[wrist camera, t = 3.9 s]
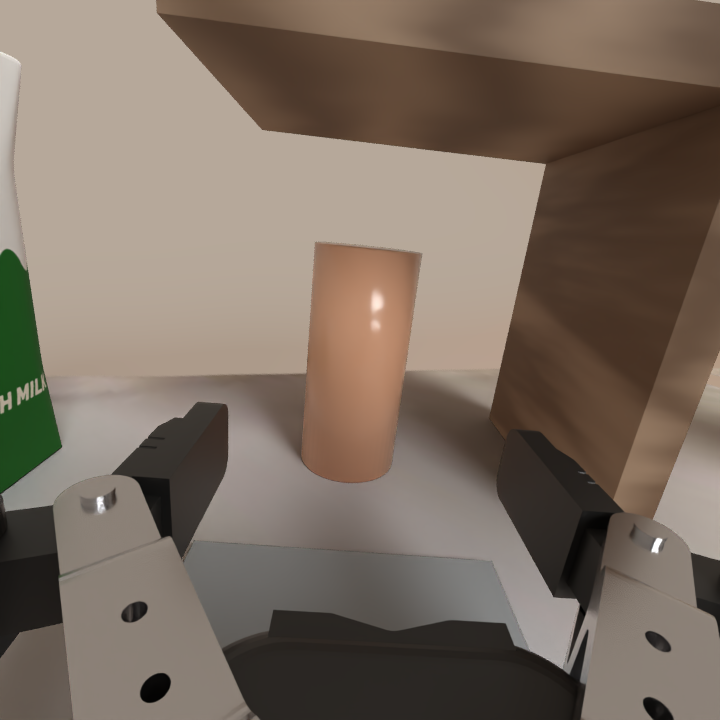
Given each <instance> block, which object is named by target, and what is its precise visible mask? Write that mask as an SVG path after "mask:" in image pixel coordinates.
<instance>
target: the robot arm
mask: <svg viewBox="0 0 720 720" xmlns="http://www.w3.org/2000/svg"><path fill="white" fill-rule="evenodd" d="M227 461H228V408H227V405H226V404H218V403H206V402H197V403H196V404H195V405H194V406H193V407H192V409H191V410H190V411H189V412H188V413H187V414H186V415H185V416H184V418H173V419H171V420H169V421H168V422H166V423H164V424H162V425H160V426H158V427H157V428H156V429H155V430H154V431H153V432H152V433H151V434H150V435H149V436H148V439H145V440H144V441H143V442H142V443H141V445H140V446H139V448H137V449H136V450H135V451H134V452H133V453H132V454H131V455H130V456H129V457H128V458H127V459H126V460H125V461H124V462H123V463H122V464H121V465H120V466H119V467H118V468H117V469H116V470H115V471H114V472H113V473H112V474H111V475H105V476H99V477H94V478H90V479H87V480H84V481H81V482H79V483H77V484H75V485H73V486H71V487H69V488H68V489H66V490H65V491H64V492H62V493H61V494H60V495H59V496H58V497H57V499H56V500H55V502H54V504H53V505H52V506H45V507H38V508H30V509H22V510H14V511H7V512H5V508H4V503H3V498H2V496H1V495H0V658H1V656H2V655H3V654H4V652H5V651H6V650H7V649H8V647H9V646H10V645H11V643H12V642H13V641H14V639H15V638H16V637H17V635H18V634H19V632H23V631H28V630H32V629H37V628H41V627H46V626H51V625H55V624H60V623H63V626H64V636H65V646H66V655H67V665H68V675H69V684H70V694H71V704H72V713H73V720H720V561H719V560H715V559H711V558H708V557H704V556H701V555H697V554H693V553H691V552H690V549H689V547H688V545H687V544H686V543H685V542H684V540H683V539H682V538H680V537H679V536H678V535H677V534H676V533H675V532H673V531H672V530H670V529H669V528H667V527H666V526H664V525H662V524H660V523H658V522H656V521H654V520H652V519H650V518H647V517H644V516H641V515H637V514H633V513H626V512H624V511H623V510H622V509H621V508H620V507H619V506H618V504H617V503H616V502H615V501H614V500H613V499H612V498H611V497H610V496H609V495H608V494H607V493H606V492H605V491H604V490H603V489H602V488H601V487H600V486H599V485H598V484H596V483H595V481H594V480H593V479H592V478H591V477H590V476H589V474H586V471H585V470H584V469H583V468H582V467H581V466H580V465H579V464H578V463H577V462H576V461H575V460H574V459H572V458H570V457H569V456H567V455H566V454H564V453H563V452H561V451H559V450H558V449H556V448H555V447H554V446H553V445H552V443H551V442H550V441H549V440H548V439H547V438H546V437H545V436H544V435H543V434H542V433H541V432H540V431H533V430H521V429H511V430H510V431H509V433H508V435H507V438H506V442H505V446H504V450H503V454H502V458H501V462H500V467H499V471H498V475H497V492H498V496H499V498H500V500H501V502H502V504H503V506H504V508H505V509H506V511H507V513H508V515H509V517H510V518H511V520H512V522H513V524H514V526H515V528H516V529H517V531H518V533H519V535H520V537H521V538H522V540H523V542H524V544H525V546H526V548H527V549H528V551H529V553H530V555H531V557H532V558H533V560H534V562H535V564H536V566H537V568H538V569H539V571H540V573H541V575H542V577H543V578H544V580H545V582H546V584H547V586H548V588H549V589H550V591H551V593H552V595H553V597H556V598H572V599H577V600H578V602H579V603H580V604H579V607H578V610H577V612H576V615H575V619H574V623H573V628H572V632H571V636H570V640H569V645H568V649H567V653H566V658H565V662H564V666H563V669H561V668H559V667H558V666H556V665H555V664H553V663H552V662H550V661H548V660H546V659H545V658H543V657H541V656H539V655H537V654H535V653H533V652H530V651H528V650H526V649H523V648H521V647H518V646H514V643H513V640H512V638H511V635H510V633H509V630H508V628H507V625H506V623H495V622H478V621H461V620H447V621H442V622H437V623H432V624H428V625H423V626H418V627H413V628H408V629H404V630H399V631H390V630H385V629H382V628H379V627H376V626H372V625H369V624H366V623H363V622H359V621H356V620H353V619H350V618H346V617H343V616H340V615H337V614H333V613H323V612H306V611H289V610H273V613H272V618H271V623H270V628H269V631H265V632H260V633H257V634H254V635H250V636H247V637H244V638H242V639H240V640H237V641H235V642H233V643H231V644H229V645H227V646H225V647H223V648H222V649H221V647H220V645H219V643H218V641H217V638H216V636H215V634H214V631H213V629H212V627H211V625H210V622H209V620H208V618H207V616H206V613H205V611H204V609H203V607H202V604H201V602H200V600H199V598H198V595H197V593H196V591H195V589H194V586H193V584H192V582H191V580H190V577H189V575H188V573H187V571H186V568H185V566H184V564H183V562H182V559H181V558H182V556H183V554H184V553H185V551H186V549H187V547H188V545H189V543H190V541H191V539H192V537H193V535H194V533H195V531H196V529H197V527H198V525H199V523H200V521H201V520H202V518H203V516H204V514H205V512H206V510H207V508H208V506H209V504H210V502H211V500H212V498H213V496H214V494H215V492H216V490H217V488H218V487H219V485H220V483H221V481H222V479H223V477H224V474H225V471H226V467H227Z"/></svg>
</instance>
